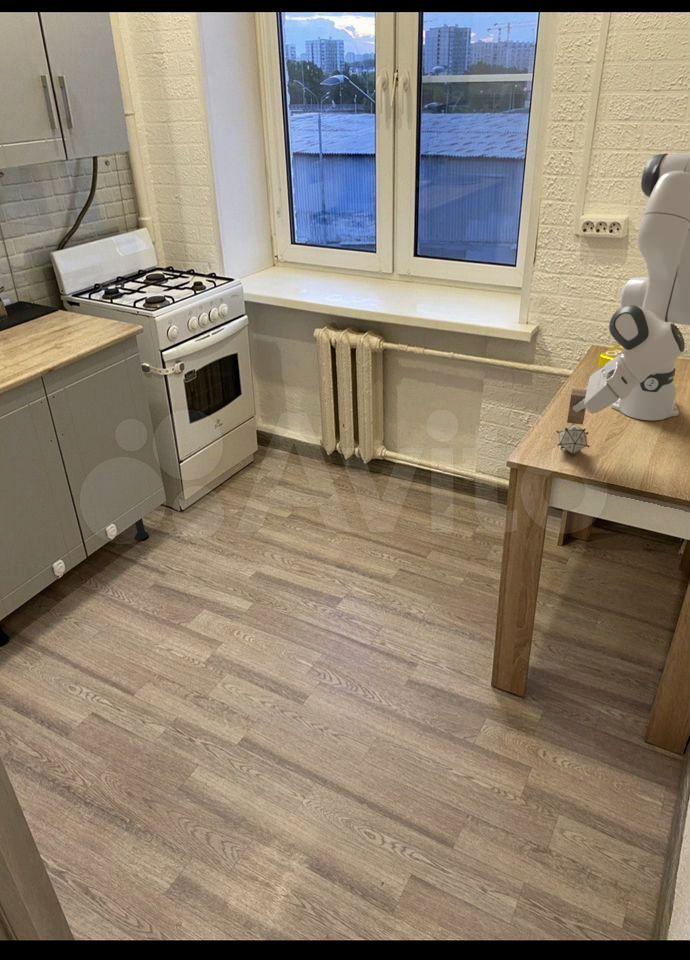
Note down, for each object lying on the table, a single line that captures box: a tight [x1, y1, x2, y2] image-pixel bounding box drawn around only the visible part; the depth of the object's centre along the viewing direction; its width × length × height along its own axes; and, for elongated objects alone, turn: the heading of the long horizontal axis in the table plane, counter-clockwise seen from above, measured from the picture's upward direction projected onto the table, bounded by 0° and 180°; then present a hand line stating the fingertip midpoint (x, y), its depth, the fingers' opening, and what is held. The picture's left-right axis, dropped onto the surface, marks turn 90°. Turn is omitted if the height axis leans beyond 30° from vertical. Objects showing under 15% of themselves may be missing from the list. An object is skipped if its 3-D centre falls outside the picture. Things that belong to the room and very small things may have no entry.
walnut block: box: [566, 388, 587, 426], centre depth 185 cm, size 4×4×8 cm
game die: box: [556, 423, 591, 458], centre depth 190 cm, size 9×8×10 cm
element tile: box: [597, 344, 624, 368], centre depth 243 cm, size 15×15×5 cm
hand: (575, 405), depth 185 cm, fingers closed on walnut block, 4 cm apart
